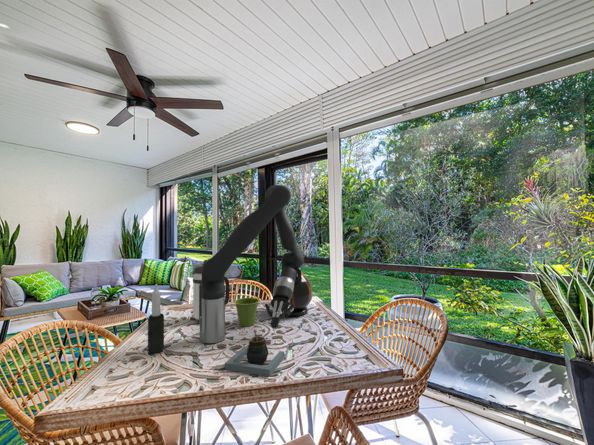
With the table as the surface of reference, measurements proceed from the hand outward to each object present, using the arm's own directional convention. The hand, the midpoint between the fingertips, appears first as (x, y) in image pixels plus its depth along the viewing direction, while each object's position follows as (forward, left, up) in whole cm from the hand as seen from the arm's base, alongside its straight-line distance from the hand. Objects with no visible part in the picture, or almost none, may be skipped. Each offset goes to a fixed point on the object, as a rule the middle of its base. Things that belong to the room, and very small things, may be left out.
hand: (273, 327), depth 110 cm
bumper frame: (0, -15, -7) cm, 16 cm away
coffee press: (-44, +20, -7) cm, 49 cm away
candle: (-40, -18, -7) cm, 44 cm away
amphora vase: (-6, +42, -7) cm, 43 cm away
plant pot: (-21, +18, -7) cm, 29 cm away
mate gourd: (0, -15, -7) cm, 16 cm away
